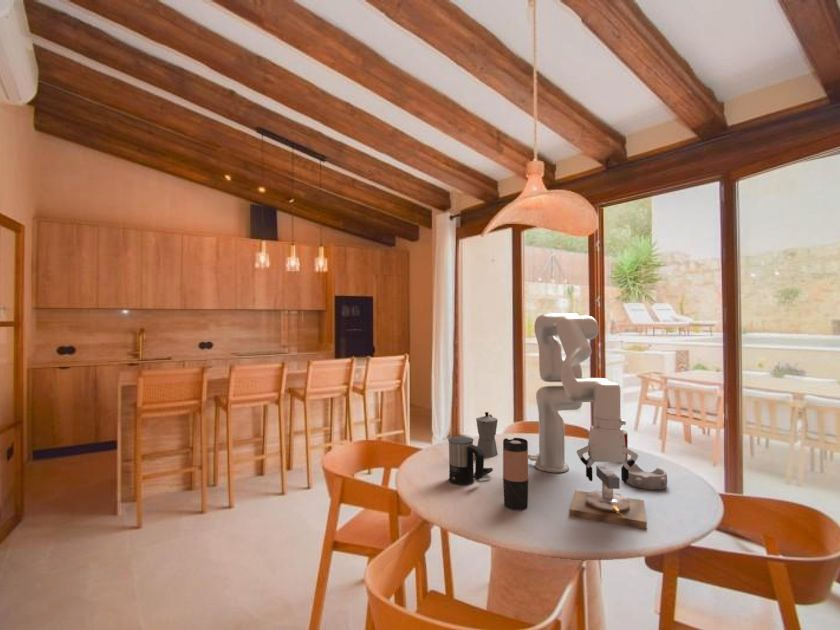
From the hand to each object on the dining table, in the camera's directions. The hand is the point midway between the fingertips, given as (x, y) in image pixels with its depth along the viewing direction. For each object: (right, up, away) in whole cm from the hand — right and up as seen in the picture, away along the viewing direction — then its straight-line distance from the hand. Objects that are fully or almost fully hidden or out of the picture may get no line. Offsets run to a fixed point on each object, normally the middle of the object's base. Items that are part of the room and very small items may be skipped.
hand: (607, 480), depth 133 cm
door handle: (0, -7, -1) cm, 7 cm away
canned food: (+26, -10, +52) cm, 59 cm away
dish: (+23, -10, +22) cm, 33 cm away
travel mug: (-27, -10, +4) cm, 28 cm away
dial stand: (0, -9, 0) cm, 9 cm away
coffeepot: (-27, -10, +58) cm, 65 cm away
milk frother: (-38, -10, +27) cm, 48 cm away
